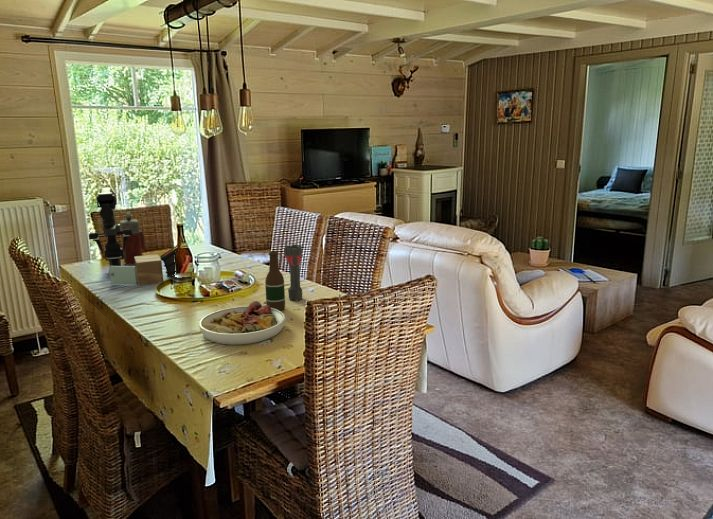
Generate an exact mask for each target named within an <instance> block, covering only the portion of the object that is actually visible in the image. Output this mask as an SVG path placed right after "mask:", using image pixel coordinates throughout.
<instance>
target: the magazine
mask: <svg viewBox="0 0 713 519" xmlns="http://www.w3.org/2000/svg"><path fill="white" fill-rule="evenodd" d="M176 247H177V245H175V246H174V247H172V248H171V249H169V250H167V251H166V252H165V253H163V254H161V255H159V257H160V259H161V262H163V267H165V270H166V271H165V274H166V276H167V277H169V278H171V277H173V276H172V275H174V274H175V272H176V271H175V262H174V255H175V251H176Z"/></svg>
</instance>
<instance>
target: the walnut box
mask: <svg viewBox="0 0 713 519" xmlns="http://www.w3.org/2000/svg"><path fill="white" fill-rule="evenodd" d="M160 258H161V257H160V255H159V254H148V255H147V254H145V255H142V256H135V257H134V260H135V264H134V266H137V275H138V286H147V285H153V284H154V283H155V284H160V283H159V282H163V283H164V273H163V265H162V264H163V263H162V262H163V261H162V260H161V259H160Z"/></svg>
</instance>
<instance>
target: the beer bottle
mask: <svg viewBox="0 0 713 519" xmlns="http://www.w3.org/2000/svg"><path fill="white" fill-rule="evenodd" d="M278 254H279V252H278V251H276V250H272V251H268V255H269V266H268V267H269V268H268V269H269V270H268V272H267V274H266V277H265V282H264V283H265V286H264V287H265V302H266V304H265V305H268V306H270V307H271V308H273V309H277V310H279V311H281V312H284V311H285V309H286V296H285V294H286V293H285V292H286V291H285V279H284V275H283V273H282V272H281V271H280V267H279V266H280V265H279V259H278Z"/></svg>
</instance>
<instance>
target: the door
mask: <svg viewBox="0 0 713 519" xmlns="http://www.w3.org/2000/svg"><path fill="white" fill-rule="evenodd" d="M108 272H110V273H109V281H110V285H115V286H116V285H123V286H124V285H128V286H129V285H131V286H139V284H138V275H137V266H135V265H133V266H132V265H121V266H109V265H108Z"/></svg>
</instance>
